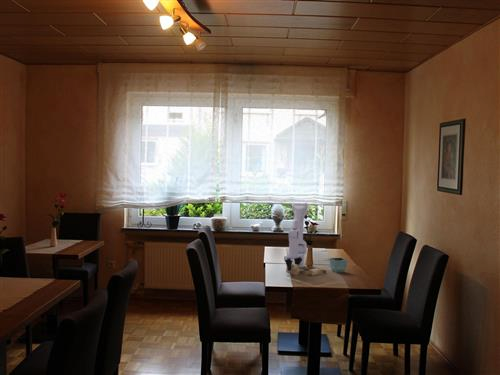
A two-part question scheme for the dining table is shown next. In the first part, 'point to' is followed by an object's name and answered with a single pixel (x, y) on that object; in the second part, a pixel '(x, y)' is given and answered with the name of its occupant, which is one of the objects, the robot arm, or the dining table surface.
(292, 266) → the tall block
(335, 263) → the flower pot
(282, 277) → the dining table surface
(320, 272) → the offcut board lower
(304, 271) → the rack
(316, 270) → the offcut board upper
